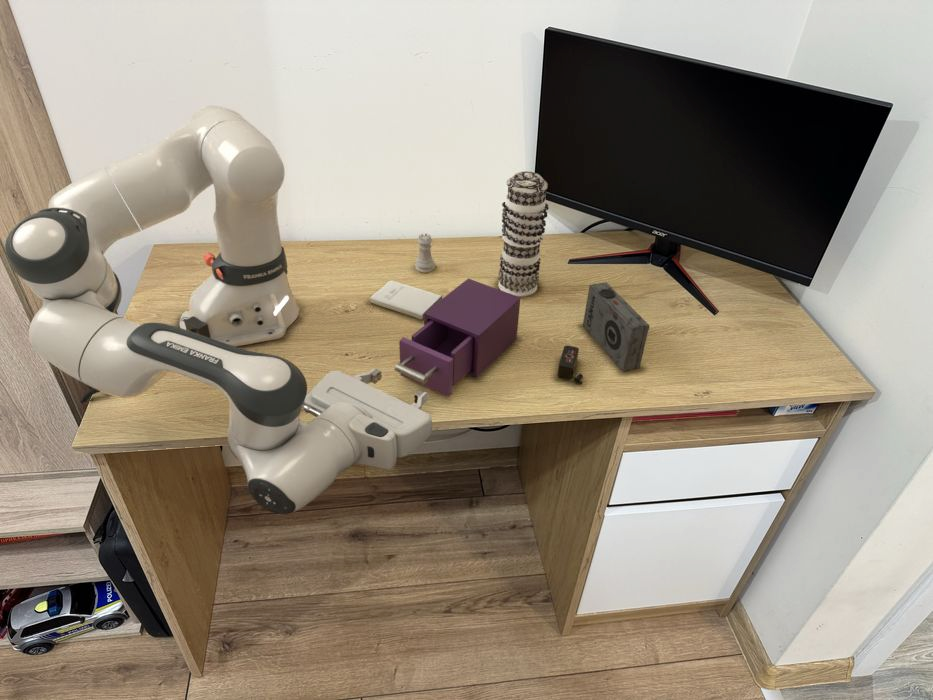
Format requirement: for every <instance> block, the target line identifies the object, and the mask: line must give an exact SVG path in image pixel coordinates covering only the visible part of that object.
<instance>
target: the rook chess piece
mask: <svg viewBox="0 0 933 700" xmlns="http://www.w3.org/2000/svg"><path fill="white" fill-rule="evenodd" d="M432 242H433V239H432V236H431V234H428V233H424V234H423V233H421V234H419V236H418V238H417V243H418V246H417V247H418V248H419V249H418V256H417V258H416V260H415V262H414V268H415V270H416V271H417V272H418V273H423V274H429V273H431V272H433V271H434V270H435V268H436V265H435V264H436V263H435V260H434V259H433V257H432V251H431V249H432V245H431V244H432Z"/></svg>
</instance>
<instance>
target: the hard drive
mask: <svg viewBox="0 0 933 700" xmlns="http://www.w3.org/2000/svg"><path fill="white" fill-rule="evenodd" d="M441 299H443V295H441V294H437V293H434V292H431V291H428V290H425V289H421V288H418V287H415V286H412V285H408V284H405V283H402V282H399V281H395V280H393V279H390V280H388V281H387V282H386V283H385V284H384V285H383V286H382V287H380V288H379V289H378V290H377V291H376V292H374V293H373V294H372V295H371V296H370V297H369V302H370V303H371V304H374V305H376V306H379V307H382V308H386V309H389V310H391V311H394V312H398V313H401V314H403V315H406V316H410V317H412V318H415V319H419V320H421V321H424V313H425V312H426V311H427V310H429V309H430V308H431V307H432V306H434V305H435V304H436V303H438V302H439V301H440V300H441Z"/></svg>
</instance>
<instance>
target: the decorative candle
mask: <svg viewBox="0 0 933 700" xmlns="http://www.w3.org/2000/svg"><path fill="white" fill-rule="evenodd" d="M548 185H549V184H548V182H547V181H546V180H545V179H544V178H543V177H542V176H541V175H540V174H539V173H536V172H533V171H519V172H516V173H515V174H514V175H512V177H509V178H508V179H507V180H506V186H507V195H506V201H503V202H502V203H501V207H503V208H502V210H501V211H502V213H501V216H502V217H501V218H502V219H501V222H502V223H503V224H502V225H501V227H502V228H501V233H502V234H501V237H502V240H503V246H502V252H501V254H500V257H499V260H500V262H499V270H498V288H499V290H501V291H504V292H506V293H509V294H512V295H514V296H517V297H520V298H521V297H527V296H531V295H532V294H535V292H536V291H537V290H538V284H539V282H538V281H539V278H540V276H539V275H540V272H539V271H540V269H541V268H540V267H541V265H540V264H541V260H542V259H541V244H542V242H543V240H544V237H543V236H544V235H543V234H545V231H546V229H545V227H546V225H547V222H546V220H545V219H547V217H548V210H549V204H548V203H547V200H546V199H547V198H546V196H547V189H548V187H549V186H548Z"/></svg>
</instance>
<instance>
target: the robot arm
mask: <svg viewBox="0 0 933 700" xmlns="http://www.w3.org/2000/svg"><path fill="white" fill-rule="evenodd" d="M285 173H286V172H285V165H284V162H283V160H282V158H281V156H280V153H279V151H278V150H277V148H276V145H274V143H273V142H272V141H271V140H270V139H269V138H268V137H267V136H266V135H265V134H264V133H262V132H261V131H260V130H259V129H258V128H257V127H256V126H254V125H253V124H252V123H251V122H249V121H248V120H247V119H246V118H245V117H244V116H243V115H242V114H240V113H239V112H237V111H235V110H233V109H230V108H227V107H223V106H218V105H207V106H204V107H201V108H199V109H198V110H197V111H195V113H194V114H193V115H192V116H191V117H190V119H189V121H188V122H187V123H186V124H184V125H183V126H181V127H180V128H178V129H176V130H175V131H174V132H172V133H171V134H170V135H168V136H167V137H165V138H164V139H162V140H161V141H159V142H157V143H156V144H153V145H152V146H151V147H148V148H146V149H144V150H142V151H139V152H137V153H135V154H132V155H130V156H127V157H125V158H123V159H121V160H118V161H116V162H113V163H111V164H108V165H105V167H101V168H99V169H96V170H94V171H92V172H90V173H87V174H85V175H83V176H81V177H80V178H78V179H76V180H75V181H73V182H71V183H70V184H68V185H67V186H65V187H64V188H62V189H61V190H59V191H57V192H56V193H54V194H53V195H52V197H51V198H50V200H49V201H48V206H47V208H43V209H40V210H39V211H37V212H35V213H33V214H31V215H29V216H27V217H25V218H23V219H22V220H21V221H19V222H18V223H17V224H16V225H15V226H14V227H13V228H12V229H11V230H10V232H9V233H8V234H7V237H6V239H5V244H4V249H5V254H6V257H7V260H8V262H9V264H10V266H11V268H12V269H13V271H14V272H15V274H16V275H18V276H19V277H20V278H21V279H22V281H23V282H24V284H26V286H27V287H28V288H29V289H30V290H31V291H32V293H33V294H34V295H35V296H36V297H38V298H39V299H40V300H41V301H42V306H41V308H39V310H37V312H36V313H35V314H34V315H33V317H32V320H31V322H30V324H29V329H28V339H29V343H30V345H31V347H32V348H33V350H34V351H35V352H36V353H37V354H39V355H40V356H41V357H42V358H43V359H45V360H46V361H47V362H48V363H50V364H51V365H53V366H54V367H56V368H58V369H59V370H60V371H62V373H65V374H66V375H68V376H70V377H71V378H73V379H75V380H77V381H79V382H80V383H83V384H84V385H86V386H88V387H91V389H89V390H88V391H86V392H84V394H83V396H82V397H81V398H80V400H79V403H80V404H83V403H86V402H87V401H88V400H89V398H90V397H92V396H93V395H95V394H97V393H103V394H106V395H109V396H112V397H117V398H120V399H128V398H129V399H130V398H135V397H137V396H140V395H142V394H144V393H145V394H146V392H148V391H150V390H151V389H152V388H153V387H155V386H156V385H157V384H158V383H159V382H160V381H161V380H162V378H163V377H164V376H165V375H166V374H167V372H170V373H171V372H172V373H175V374H179V375H181V376H183V377H187V378H188V379H189V378H190V379H192V380H195V381H198V382H200V383H203V384H206V385H209V386H211V387H214V388H217V390H219V391H221V392H222V394H224V396H225V397H226V399H227V401H228V404H229V410H228V411H229V412H228V419H227V445H228V447H229V450H230V452H231V453H232V455H233V456H234V458H236V459H237V460H238V462H240V464H241V466H242V468H243V470H244V473H245V476H246V481H247V489H248V492H249V494H250V496H251V497H252V499H254V501H255V502H256V503H257V504H258V505H259V506H261V507H262V508H263V509H265V510H267V511H268V512H271V513H274V514H277V515H289V514H293V513H295V512H298V511H300V510H301V509H303V508H304V507H306V506H307V505H308V504H310V503H311V502H313V501H314V500H315V499H316V498H318V497H319V496H320V495H321V494H322V493H324V492H325V491H326V490H327V489H328V488H329V487H330V486H331V485H333V483H335V481H336V479H337V477H338V475H339V474H340V473H342V472H343V471H345V470H348V469H350V468H351V467H352V466H353V465H357V466H358V465H359V466H367V467H371V468H378V469H383V470H387V471H388V470H392V469H393V468H395V466H396V465H397V460H398V458H404V457H407V456H409V455H411V454H412V453H414V452H415V451H416V450H417V449H418V448H419V447H421V445H423V444H424V443H425V442H426V441H427V440H428V439H429V438H430V436H431V435H432V433H433V419H432V415H431V414H430V413H429V412H427V411H424V410H423V406H424V405H425V404H426V403H427V402H428V400H429V392H427V391H424V390H422V389H418V391H416V392H415V393H414V394H413V395H414V396H413V398H414V400H413V402H412V403H411V404H410V403H408V402H405V401H404V400H401V399H399V398H398V397H395V396H393V395H391V394H389V393H387V392H385V391H383V390H380V389H379V388H376V387H374V386H373V385H371V383H372V384H374V385H376V384H377V383H378V382H380V381H381V379H382V378H383V375H382V372H383V371H381V370H379V369H378V368H375V367H373V368H372V369H371V370H369V371H368V372H361V373H358V374H355V375H354V376H352V375H349V374H347V373H346V372H344V371H341V370H338V369H337V370H331V371H329V372H327V373H326V374H325V375H324V376H322V378H321V379H320V380H319V381H318V382H317V383H316V384H315V385H314V387H312V389H311V391H309V392H308V382H307V379H306V377H305V374H304V373H303V372H302V370H301V369H300V368H299V367H298V366H296V364H294V363H293V362H292V361H290V360H288V359H286V358H284V357H282V356H279V355H275V354H272V353H271V354H270V353H263V352H257V351H252V350H248V349H243V348H241V346H246V345H252V344H257V343H262V342H268V341H269V342H270V341H274V340H279V339H282V338H283V337H284V336H285V334H286V331H287V329H288V328H289V327H290V326H291V325H292V324H293V323H294V322H295V321H296V320H297V318H298V316H299V314H300V307H299V304H298V303H297V301H296V299H295V297H294V294H293V291H292V289H291V286H290V283H289V278H288V261H287V254H286V251H285V247H284V246H282V240H281V233H280V225H279V217H278V201H279V199H278V197H279V190H280V189H281V187H282V185H283V183H284V180H285ZM212 185H213V187H214V195H215V196H214V197H215V210H214V212H213V216H212V217H213V218H212V219H213V224H214V228H215V233H216V234H215V235H216V237H217V244H218V249H219V253H218V255H217V256H216V257H215V254H214V253H212V252H207V253H205V254H204V256H203V257H202V259H203V261H204V262H205V264H206V266H208V267H211V272H212V274H210V275H209V276H208V277H207V278H206V279H205V280H204V281H203V282H202V283H201V284H199V286H197V287H196V288H195V289H194V290H193V291H192V292H191V293H190V296H189V301H188V310H186V311H184V312H183V313H182V314H181V315H180V318H179V327H178V326H175V325H172V324H167V323H163V322H145V323H142V324H141V323H137V322H134V321H132V320H130V319H128V318H125V317H124V316H122V315H119V314H117V313H116V312H117V311H118V309H119V307H120V304H121V301H122V297H123V292H122V285H121V282H120V279H119V277H118V275H117V274H116V272H115V271H114V270H113V269H112V266H111V264H110V263H109V261H108V260H107V258H106V256H105V253H106V251H108V250H109V248H110V247H111V246H112V245H114V243H117V242H118V241H119V240H122V239H125V238H127V237H130V236H132V235H134V234H137V233H140V232H141V231H144V230H146V229H149V228H152V227H153V226H156V225H158V224H160V223H162V222H164V221H167V220H169V219H171V218H173V217H176V216H178V215H181V214H183V213H185V212H186V211H187V210H188V209H189V208H190V206H191V205H192V202H193V201H194V200H195V199H196V198H197V197H198V196H199V195H201V193H202V192H204V191H205V190H206V189H208V188H209V187H211V186H212ZM302 410H303V411H304V412H305V413H307V414H310V415H311V416H314V417H315V418H314V419H313V420H311V421H310V422H304V421H303V420H302V419H300V417H301V412H302Z"/></svg>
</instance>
